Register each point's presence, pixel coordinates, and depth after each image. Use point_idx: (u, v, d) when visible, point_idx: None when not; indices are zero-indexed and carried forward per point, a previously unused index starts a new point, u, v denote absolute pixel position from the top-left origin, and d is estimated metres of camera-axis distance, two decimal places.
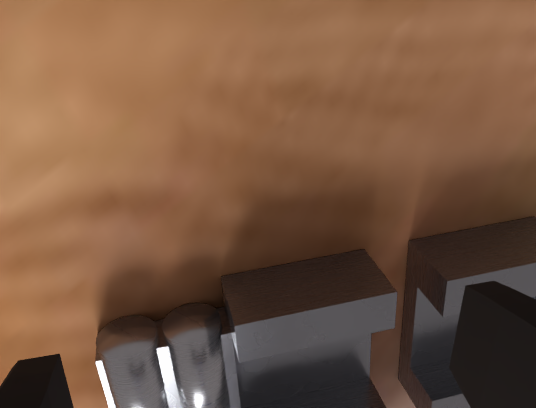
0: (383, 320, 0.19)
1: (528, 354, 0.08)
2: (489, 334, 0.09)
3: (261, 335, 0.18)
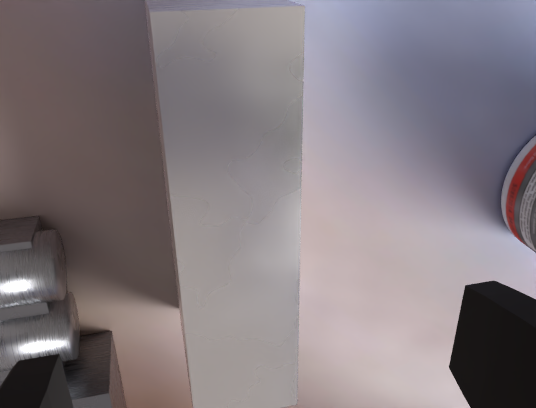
0: None
1: (528, 354, 0.08)
2: (489, 334, 0.09)
3: None
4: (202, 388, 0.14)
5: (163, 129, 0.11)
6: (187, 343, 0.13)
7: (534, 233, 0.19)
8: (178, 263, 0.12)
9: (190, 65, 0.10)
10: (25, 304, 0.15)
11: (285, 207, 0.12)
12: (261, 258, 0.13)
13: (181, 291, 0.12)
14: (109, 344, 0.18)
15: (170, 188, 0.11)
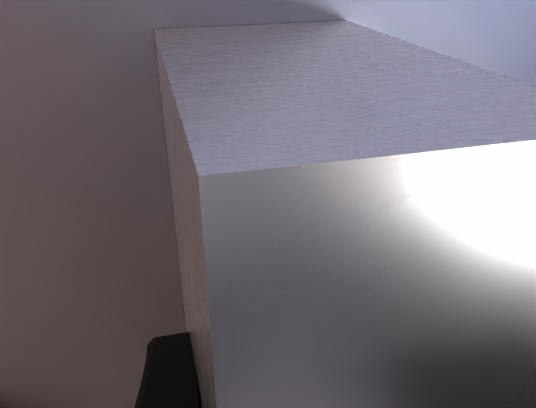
0: None
1: None
2: None
3: None
4: None
5: None
6: None
7: None
8: None
9: (311, 307, 0.03)
10: None
11: None
12: None
13: None
14: None
15: None
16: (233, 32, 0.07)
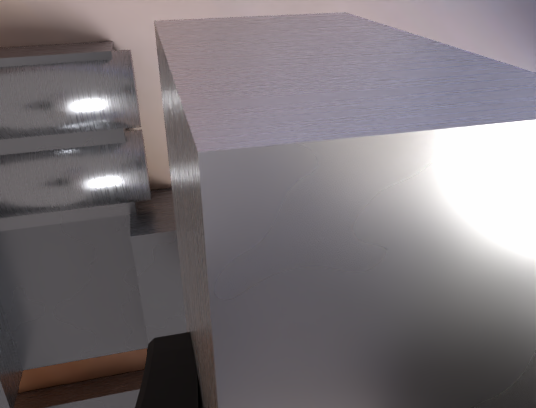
0: None
1: None
2: None
3: None
4: None
5: None
6: None
7: None
8: None
9: (311, 286, 0.03)
10: (103, 125, 0.14)
11: None
12: None
13: None
14: None
15: None
16: (233, 23, 0.07)
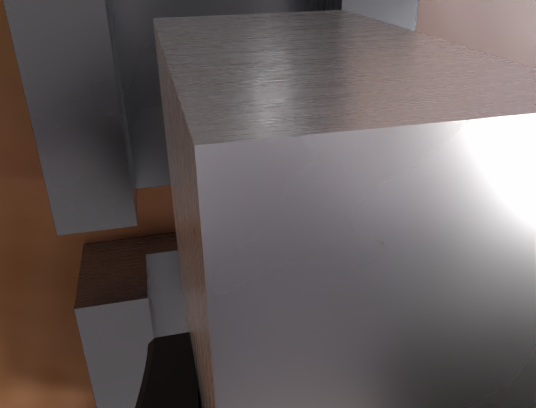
0: (128, 317, 0.13)
1: None
2: None
3: None
4: None
5: None
6: None
7: None
8: None
9: (308, 281, 0.03)
10: None
11: None
12: None
13: None
14: None
15: None
16: (232, 20, 0.07)
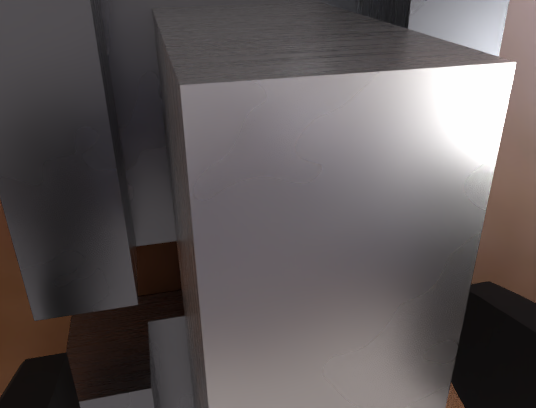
0: None
1: (522, 355, 0.08)
2: (484, 335, 0.09)
3: None
4: None
5: (201, 313, 0.05)
6: None
7: None
8: None
9: (265, 192, 0.05)
10: None
11: None
12: None
13: None
14: None
15: None
16: (219, 9, 0.08)
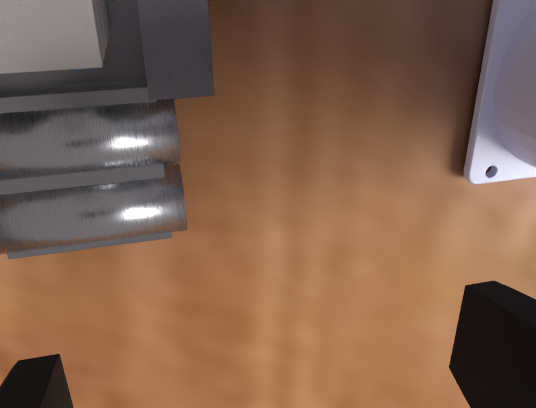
0: None
1: (528, 354, 0.08)
2: (489, 334, 0.09)
3: None
4: None
5: None
6: None
7: None
8: None
9: None
10: None
11: None
12: None
13: None
14: None
15: None
16: None
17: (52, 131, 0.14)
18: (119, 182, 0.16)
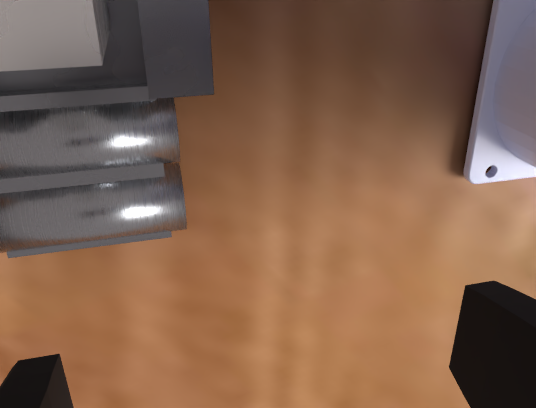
0: None
1: (528, 354, 0.08)
2: (489, 334, 0.09)
3: None
4: None
5: None
6: None
7: None
8: None
9: None
10: None
11: None
12: None
13: None
14: None
15: None
16: None
17: (52, 130, 0.14)
18: (119, 181, 0.16)
